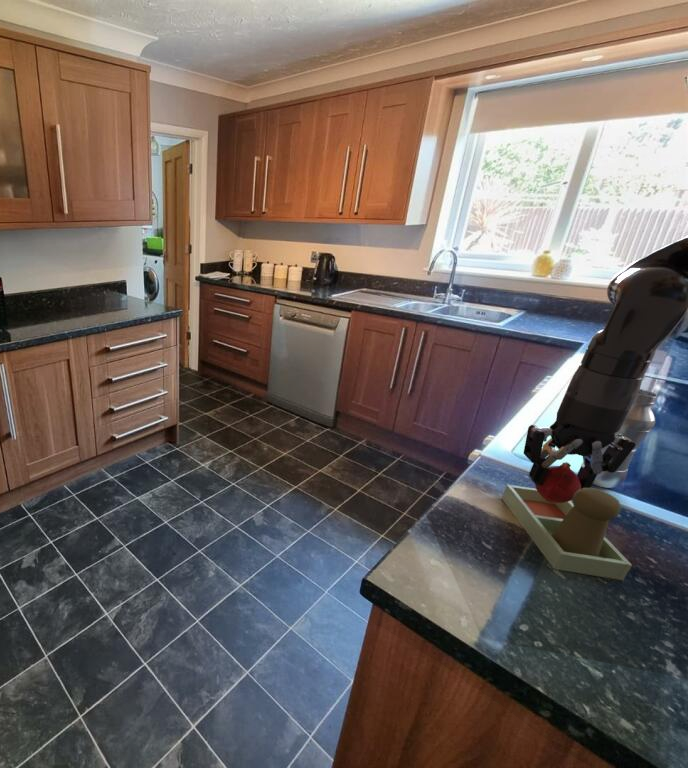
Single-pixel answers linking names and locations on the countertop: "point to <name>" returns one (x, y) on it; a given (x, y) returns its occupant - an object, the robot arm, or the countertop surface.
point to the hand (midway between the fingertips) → (557, 485)
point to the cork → (586, 522)
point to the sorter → (540, 526)
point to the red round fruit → (559, 484)
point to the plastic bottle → (630, 436)
